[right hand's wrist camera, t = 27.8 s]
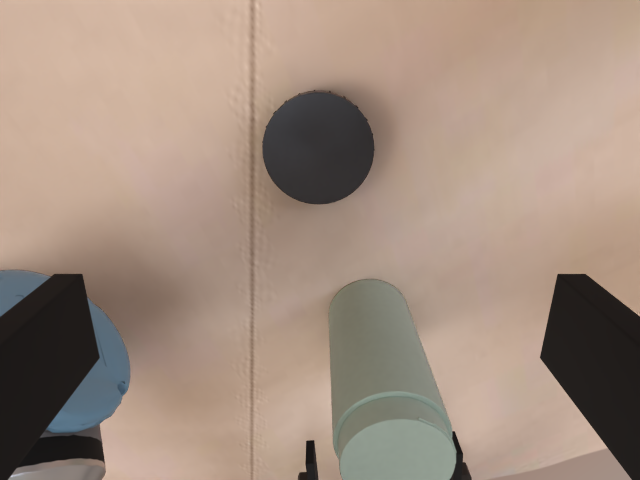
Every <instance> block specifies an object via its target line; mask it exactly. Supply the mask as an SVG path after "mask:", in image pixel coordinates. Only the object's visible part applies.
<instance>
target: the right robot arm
mask: <svg viewBox="0 0 640 480" xmlns="http://www.w3.org/2000/svg"><path fill="white" fill-rule="evenodd" d="M99 358H100V356H99V351H98V346H97V341H96V337H95V332H94V327H93V323H92V318H91V313H90V308H89V304H88V299H87V294H86V289H85V285H84V280H83V275H82V274H54V275H53V276H51V277H50V278H49V279H48V280H46V281H45V282H44V283H43V284H41V285H40V286H39V287H37V288H36V289H35V290H34V291H32V292H31V293H30V294H29V295H27V296H26V297H25V298H23V299H22V300H21V301H20V302H18V303H17V304H16V305H14V306H13V307H12V308H11V309H9V310H8V311H7V312H6V313H4V314H3V315H2V316H0V480H8V479H9V478H10V476H11V475H12V474H13V472H14V471H15V470H16V468H17V467H18V466H19V464H20V463H21V462H22V460H23V459H24V458H25V457H26V455H27V454H28V453H29V451H30V450H31V449H32V447H33V446H34V445H35V443H36V442H37V441H38V439H39V438H40V437H41V435H42V434H43V433H44V431H45V430H46V429H47V427H48V426H49V425H50V423H51V422H52V421H53V419H54V418H55V417H56V415H57V414H58V413H59V411H60V410H61V409H62V407H63V406H64V405H65V403H66V402H67V401H68V399H69V398H70V397H71V395H72V394H73V393H74V392H75V390H76V389H77V388H78V386H79V385H80V384H81V382H82V381H83V380H84V378H85V377H86V376H87V374H88V373H89V372H90V370H91V369H92V368H93V366H94V365H95V364H96V362H97V361H98V360H99ZM540 358H541V360H542V361H543V362H544V364H545V365H546V366H547V368H548V369H549V370H550V372H551V373H552V374H553V376H554V377H555V378H556V380H557V381H558V382H559V384H560V385H561V386H562V388H563V389H564V390H565V392H566V393H567V394H568V395H569V397H570V398H571V399H572V401H573V402H574V403H575V405H576V406H577V407H578V409H579V410H580V411H581V413H582V414H583V415H584V417H585V418H586V419H587V421H588V422H589V423H590V425H591V426H592V427H593V429H594V430H595V431H596V433H597V434H598V435H599V437H600V438H601V439H602V441H603V442H604V443H605V445H606V446H607V447H608V449H609V450H610V451H611V453H612V454H613V455H614V457H615V458H616V459H617V460H618V462H619V463H620V464H621V466H622V467H623V468H624V470H625V471H626V472H627V474H628V475H629V476H630V478H631V479H632V480H640V316H638V315H637V314H636V313H634V312H633V311H632V310H631V309H629V308H628V307H627V306H626V305H624V304H623V303H622V302H620V301H619V300H618V299H617V298H615V297H614V296H613V295H611V294H610V293H609V292H608V291H606V290H605V289H604V288H603V287H601V286H600V285H599V284H597V283H596V282H595V281H594V280H592V279H591V278H590V277H589V276H587V275H586V274H558V275H557V280H556V285H555V289H554V294H553V299H552V304H551V308H550V313H549V318H548V323H547V327H546V332H545V337H544V341H543V346H542V351H541V356H540Z"/></svg>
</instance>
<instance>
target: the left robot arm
mask: <svg viewBox="0 0 640 480" xmlns="http://www.w3.org/2000/svg"><path fill="white" fill-rule="evenodd" d="M49 278H50V276H47V275H44V274H40V273H36V272H31V271H24V270H1V271H0V316H2V315H3V314H4V313H6V312H7V311H8V310H9V309H11V308H12V307H13V306H14V305H16V304H17V303H18V302H20V301H21V300H22V299H23V298H25V297H26V296H27V295H29V294H30V293H31V292H32V291H34V290H35V289H36V288H37V287H39V286H40V285H41V284H43V283H44V282H45V281H46V280H48V279H49ZM87 299H88V304H89V308H90V313H91V318H92V323H93V327H94V332H95V337H96V341H97V346H98V351H99V356H100V358H99V360H98V361H97V362H96V364H95V365H94V366H93V368H92V369H91V370H90V372H89V373H88V374H87V376H86V377H85V378H84V380H83V381H82V382H81V384H80V385H79V386H78V388H77V389H76V390H75V392H74V393H73V394H72V395H71V397H70V398H69V399H68V401H67V402H66V403H65V405H64V406H63V407H62V409H61V410H60V411H59V413H58V414H57V415H56V417H55V418H54V419H53V421H52V422H51V423H50V425H49V426H48V427H47V429H46V430H45V431H44V433H43V434H42V435H41V437H40V438H39V439H38V441H37V442H36V443H35V445H34V446H33V447H32V449H31V450H30V451H29V453H28V454H27V455H26V457H25V458H24V459H23V460H22V462H21V463H20V464H19V466H18V467H17V468H16V470H15V471H14V472H13V474H12V475H11V476H10V478H9V479H8V480H102V478H103V477H104V475H105V472H106V468H105V461H104V454H103V447H102V439H101V432H100V423H101V422H102V421H104V420H105V419H107V418H109V417H111V416H112V414H113V413H114V412H115V410H116V408H117V407H118V406H119V405H120V403H121V400H122V396H123V395H124V394H125V393H126V392H127V390H128V387H129V382H130V362H129V357H128V353H127V350H126V347H125V345H124V342H123V340H122V338H121V336H120V334H119V332H118V330H117V329H116V327H115V326H114V324H113V323H112V321H111V320H110V319H109V318H108V316H107V315H106V314H105V313H104V312H103V311H102V310H101V309H100V308H99V307H97V306H96V305H95V304H94V303H93V302H92V301H91V300H90V299H89V298H88V297H87ZM452 440H453V443H454V446H455V449H456V452H457V453H456V464H455V468H454V472H453V474H452V476H451V478H450V480H472V478H471V475H470V473H469V470H468V467H467V465H466V463H463V453H462V450H461V447H460V445H459V442H458V439H457V437H456V434H455V431H452ZM306 470H307V472H300V473H299V476H298V480H318V471H317V462H316V453H315V444H314V440H312V441H306Z"/></svg>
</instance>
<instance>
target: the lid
mask: <svg viewBox="0 0 640 480" xmlns="http://www.w3.org/2000/svg"><path fill="white" fill-rule="evenodd" d="M273 114H274V115H273V116H272V118H271V120H270V121H269V123H268V125H267V126H266V130H265V134H264V138H263V142H262V143H263V158H264V162H265V166H266V169H267V171H268V173H269V175H270V177H271V178H272V180H273V181H274V183H275V184H276V185H277V186H278V187H279V188H280V189H281V190H282V191H283V192H284V193H286V194H287V195H288V196H290V197H292V198H294V199H296V200H298V201H301V202H305V203H310V204H328V203H332V202H336V201H338V200H341V199H343V198H345V197H347V196H348V195H350V194H351V193H353V192H354V191H355V190H356V189H357V188H358V187H359V186H360V185H361V184H362V182H363V181H364V180H365V178H366V177H367V175H368V173H369V170H370V168H371V165H372V161H373V156H374V140H373V134H372V132H371V129H370V126H369V124H368V122H367V121H368V120H367V119H366V118H365V117H364V116H363V114H362V113H361V112H360V111H359V110H358V107H357V106H355V105H354V104H352V103H351V102H350V101H349V100H347V99H346V98H345V97H344V96H343V97H342V96H340V95H338V94H335V93H331V91H329V92H326V91H315V90H314V91H310V92H306V93H302V94H300V93H299V94H298V95H297V96H295V97H293V98H291V99H289V100H288V101H287V100H286V101H285V102H284V104H283V105H282V106H281V107H280V108H279V109H278V110H277V111H275V112H274V113H273Z"/></svg>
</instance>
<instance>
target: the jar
mask: <svg viewBox="0 0 640 480" xmlns="http://www.w3.org/2000/svg"><path fill="white" fill-rule="evenodd" d="M329 341H330V370H331V399H332V428H333V446H334V450H335V453H336V455H337V457H338V459H339V468H340V474H341V476H342V479H343V480H450V478H451V476H452V474H453V472H454V468H455V464H456V453H457V452H456V449H455V446H454V443H453V440H452V427H451V423H450V420H449V417H448V415H447V412H446V409H445V406H444V404H443V401H442V398H441V396H440V393H439V390H438V387H437V385H436V382H435V379H434V376H433V374H432V371H431V368H430V365H429V363H428V360H427V357H426V354H425V352H424V349H423V346H422V344H421V341H420V338H419V335H418V333H417V330H416V327H415V324H414V322H413V319H412V316H411V313H410V311H409V308H408V305H407V303H406V300H405V298H404V296H403V295H402V294H401V292H400V291H399V290H398V289H397V288H395V287H394V286H392V285H391V284H389V283H386V282H384V281H380V280H374V279H366V280H360V281H356V282H353V283H351V284H349V285H347V286H345V287H344V288H343V289H341V290H340V291H339V292H338V293H337V294H336V296H335V297H334V299H333V300H332V302H331V305H330V308H329Z"/></svg>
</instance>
